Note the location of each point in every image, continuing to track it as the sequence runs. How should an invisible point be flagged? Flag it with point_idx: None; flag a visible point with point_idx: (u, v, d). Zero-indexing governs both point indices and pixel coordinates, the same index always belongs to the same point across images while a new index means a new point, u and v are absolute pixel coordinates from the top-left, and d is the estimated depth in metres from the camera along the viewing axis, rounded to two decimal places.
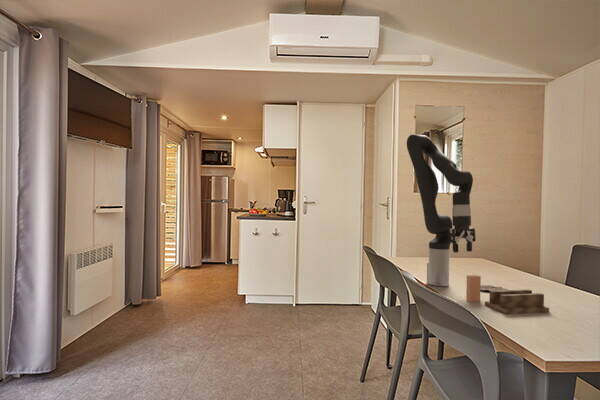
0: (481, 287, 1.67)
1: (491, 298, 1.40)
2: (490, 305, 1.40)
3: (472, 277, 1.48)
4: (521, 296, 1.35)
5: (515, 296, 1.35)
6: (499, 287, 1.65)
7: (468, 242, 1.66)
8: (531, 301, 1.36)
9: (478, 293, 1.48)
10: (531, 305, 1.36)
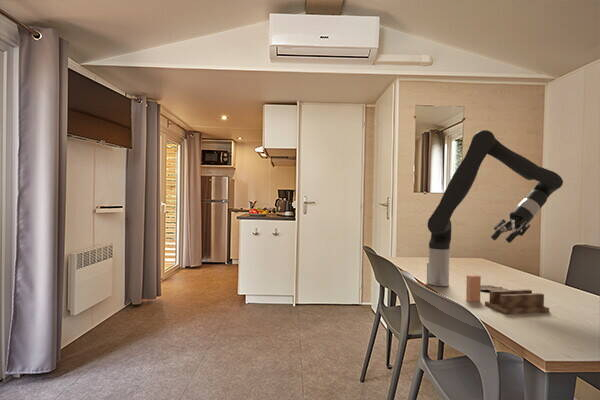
0: (481, 287, 1.67)
1: (491, 298, 1.40)
2: (490, 305, 1.40)
3: (472, 277, 1.48)
4: (521, 296, 1.35)
5: (515, 296, 1.35)
6: (499, 287, 1.65)
7: (499, 231, 1.55)
8: (531, 301, 1.36)
9: (478, 293, 1.48)
10: (531, 305, 1.36)
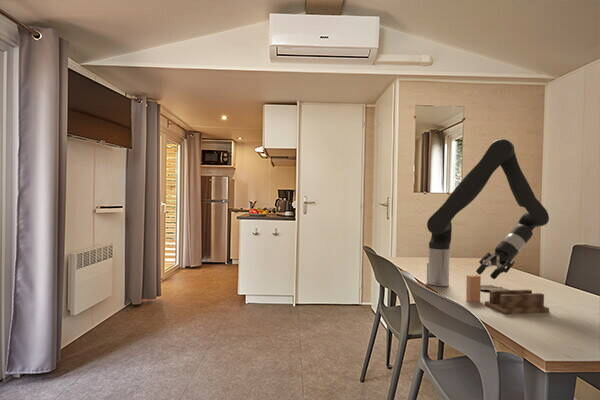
0: (481, 287, 1.67)
1: (491, 298, 1.40)
2: (490, 305, 1.40)
3: (472, 277, 1.48)
4: (521, 296, 1.35)
5: (515, 296, 1.35)
6: (500, 287, 1.66)
7: (484, 266, 1.54)
8: (531, 301, 1.36)
9: (478, 293, 1.48)
10: (531, 305, 1.36)
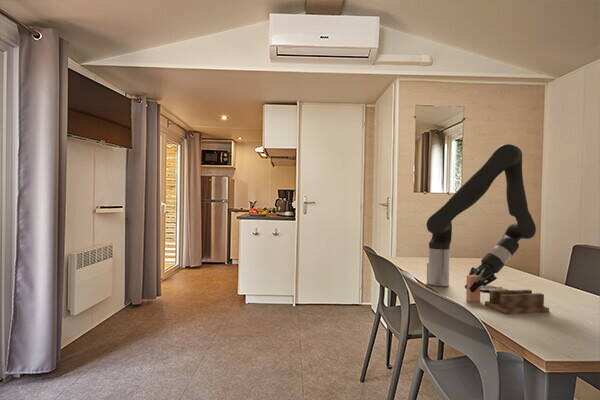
0: (481, 287, 1.66)
1: (491, 298, 1.40)
2: (490, 305, 1.40)
3: (472, 277, 1.48)
4: (521, 296, 1.35)
5: (515, 296, 1.35)
6: (499, 287, 1.65)
7: None
8: (531, 301, 1.36)
9: (478, 293, 1.48)
10: (531, 305, 1.36)
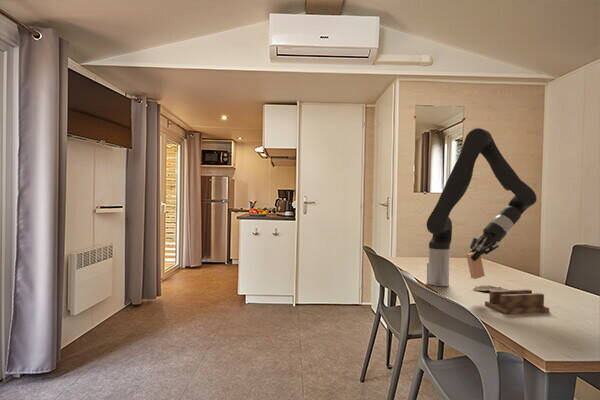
0: (481, 287, 1.66)
1: (491, 298, 1.40)
2: (490, 305, 1.40)
3: (471, 255, 1.47)
4: (521, 296, 1.35)
5: (515, 296, 1.35)
6: (499, 287, 1.65)
7: None
8: (531, 301, 1.36)
9: (481, 269, 1.48)
10: (531, 305, 1.36)
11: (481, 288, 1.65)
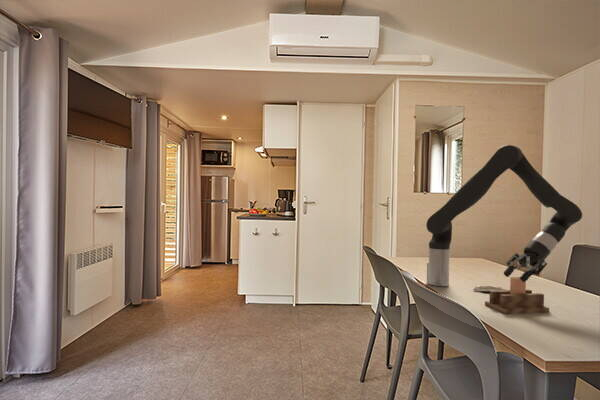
0: (481, 288, 1.65)
1: (491, 298, 1.40)
2: (490, 305, 1.40)
3: (517, 279, 1.38)
4: (521, 296, 1.35)
5: (515, 296, 1.35)
6: (498, 287, 1.65)
7: (512, 267, 1.43)
8: (531, 301, 1.36)
9: None
10: (531, 305, 1.36)
11: (481, 289, 1.64)
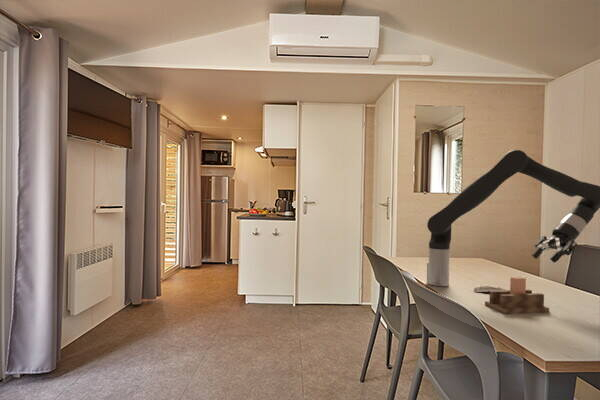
0: (482, 289, 1.64)
1: (491, 298, 1.40)
2: (490, 305, 1.40)
3: (517, 279, 1.38)
4: (521, 296, 1.35)
5: (515, 296, 1.35)
6: (498, 288, 1.64)
7: (540, 249, 1.45)
8: (531, 301, 1.36)
9: None
10: (531, 305, 1.36)
11: (482, 289, 1.63)
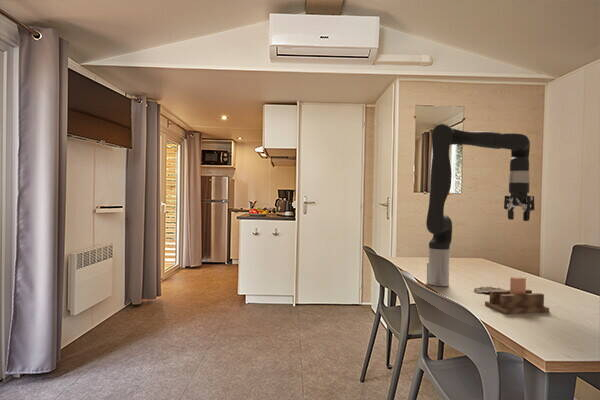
0: (482, 289, 1.63)
1: (491, 298, 1.40)
2: (490, 305, 1.40)
3: (517, 279, 1.38)
4: (521, 296, 1.35)
5: (515, 296, 1.35)
6: (498, 288, 1.64)
7: (511, 210, 1.61)
8: (531, 301, 1.36)
9: None
10: (531, 305, 1.36)
11: (482, 290, 1.62)
